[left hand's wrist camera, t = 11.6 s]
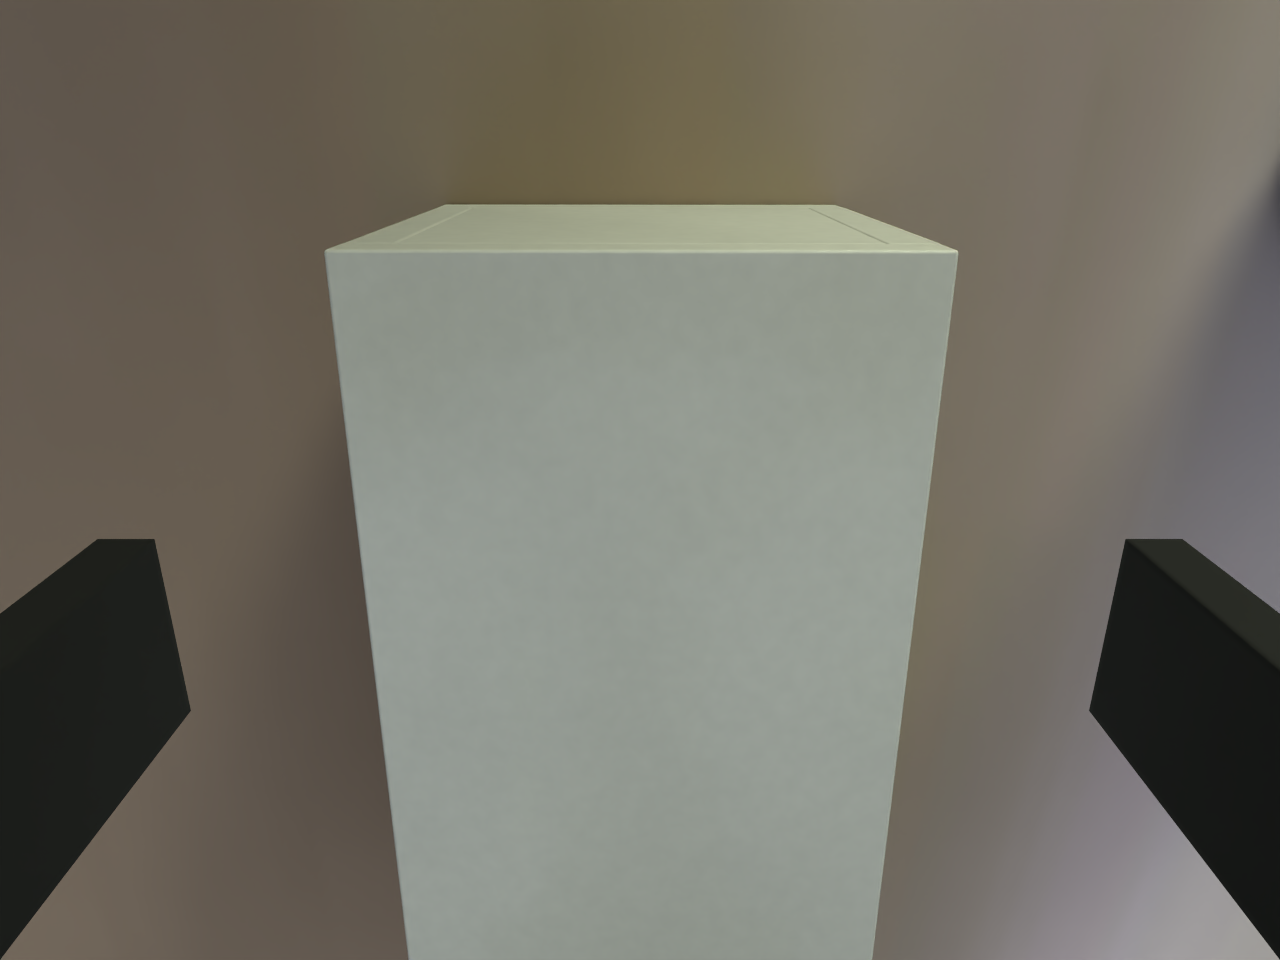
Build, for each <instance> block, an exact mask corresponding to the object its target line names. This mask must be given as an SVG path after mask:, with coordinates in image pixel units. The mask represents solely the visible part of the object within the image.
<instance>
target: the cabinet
mask: <svg viewBox="0 0 1280 960" xmlns="http://www.w3.org/2000/svg"><path fill="white" fill-rule="evenodd" d="M324 255H325V263H326V271H327V280H328V288H329V296H330V305H331V313H332V322H333V330H334V338H335V347H336V355H337V363H338V372H339V380H340V389H341V397H342V405H343V414H344V422H345V431H346V439H347V447H348V456H349V464H350V472H351V481H352V489H353V498H354V506H355V514H356V523H357V531H358V539H359V548H360V556H361V565H362V573H363V581H364V590H365V598H366V606H367V615H368V623H369V632H370V640H371V648H372V657H373V665H374V673H375V682H376V690H377V699H378V707H379V715H380V724H381V732H382V741H383V749H384V757H385V766H386V774H387V782H388V791H389V799H390V808H391V816H392V824H393V833H394V841H395V849H396V858H397V866H398V875H399V883H400V891H401V900H402V908H403V916H404V925H405V933H406V942H407V950H408V958H409V960H872V956H873V948H874V940H875V931H876V923H877V915H878V907H879V899H880V891H881V882H882V874H883V866H884V858H885V850H886V842H887V833H888V825H889V817H890V809H891V801H892V793H893V784H894V776H895V768H896V760H897V752H898V744H899V735H900V727H901V719H902V711H903V703H904V695H905V686H906V678H907V670H908V662H909V654H910V645H911V637H912V629H913V621H914V613H915V605H916V596H917V588H918V580H919V572H920V564H921V556H922V547H923V539H924V531H925V523H926V515H927V507H928V498H929V490H930V482H931V474H932V466H933V458H934V449H935V441H936V433H937V425H938V417H939V409H940V400H941V392H942V384H943V376H944V368H945V360H946V351H947V343H948V335H949V327H950V319H951V311H952V302H953V294H954V286H955V278H956V270H957V262H958V251H957V250H955V249H952V248H949V247H947V246H944V245H941V244H940V243H937V242H934V241H932V240H929V239H926V238H924V237H921V236H918V235H916V234H913V233H910V232H908V231H905V230H902V229H900V228H897V227H894V226H892V225H889V224H886V223H883V222H881V221H878V220H875V219H873V218H870V217H867V216H865V215H862V214H859V213H857V212H854V211H851V210H849V209H846V208H842V207H840V206H837V205H443V206H441V207H438V208H436V209H433V210H430V211H428V212H425V213H422V214H420V215H417V216H415V217H412V218H409V219H407V220H404V221H401V222H399V223H396V224H393V225H391V226H388V227H386V228H383V229H380V230H378V231H375V232H372V233H370V234H367V235H364V236H362V237H359V238H356V239H354V240H351V241H349V242H346V243H342V244H340V245H337V246H334V247H332V248H329V249H327V250H325V253H324Z"/></svg>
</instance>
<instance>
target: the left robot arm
mask: <svg viewBox="0 0 1280 960" xmlns="http://www.w3.org/2000/svg"><path fill="white" fill-rule="evenodd" d="M190 711H191V710H190V705H189V700H188V695H187V691H186V686H185V681H184V677H183V672H182V667H181V662H180V658H179V653H178V648H177V644H176V639H175V634H174V629H173V625H172V620H171V615H170V611H169V606H168V601H167V596H166V592H165V587H164V582H163V578H162V573H161V568H160V564H159V559H158V554H157V549H156V545H155V540H154V539H97V540H96V541H95V542H93V543H92V544H91V545H89V546H88V547H87V548H86V549H84V550H83V551H82V552H80V553H79V554H78V555H76V556H75V557H74V558H72V559H71V560H70V561H69V562H67V563H66V564H65V565H63V566H62V567H61V568H59V569H58V570H57V571H55V572H54V573H53V574H52V575H50V576H49V577H48V578H46V579H45V580H44V581H42V582H41V583H40V584H38V585H37V586H36V587H35V588H33V589H32V590H31V591H29V592H28V593H27V594H25V595H24V596H23V597H21V598H20V599H19V600H18V601H16V602H15V603H14V604H12V605H11V606H10V607H8V608H7V609H6V610H5V611H3V612H2V613H1V614H0V959H1V958H2V956H3V955H4V954H5V953H6V951H7V950H8V949H9V947H10V946H11V945H12V943H13V942H14V941H15V939H16V938H17V937H18V936H19V934H20V933H21V932H22V930H23V929H24V928H25V926H26V925H27V924H28V922H29V921H30V920H31V919H32V917H33V916H34V915H35V913H36V912H37V911H38V909H39V908H40V907H41V905H42V904H43V903H44V902H45V900H46V899H47V898H48V896H49V895H50V894H51V892H52V891H53V890H54V889H55V887H56V886H57V885H58V883H59V882H60V881H61V879H62V878H63V877H64V875H65V874H66V873H67V872H68V870H69V869H70V868H71V866H72V865H73V864H74V862H75V861H76V860H77V858H78V857H79V856H80V855H81V853H82V852H83V851H84V849H85V848H86V847H87V845H88V844H89V843H90V842H91V840H92V839H93V838H94V836H95V835H96V834H97V832H98V831H99V830H100V828H101V827H102V826H103V825H104V823H105V822H106V821H107V819H108V818H109V817H110V815H111V814H112V813H113V811H114V810H115V809H116V808H117V806H118V805H119V804H120V802H121V801H122V800H123V798H124V797H125V796H126V795H127V793H128V792H129V791H130V789H131V788H132V787H133V785H134V784H135V783H136V781H137V780H138V779H139V778H140V776H141V775H142V774H143V772H144V771H145V770H146V768H147V767H148V766H149V764H150V763H151V762H152V761H153V759H154V758H155V757H156V755H157V754H158V753H159V751H160V750H161V749H162V747H163V746H164V745H165V744H166V742H167V741H168V740H169V738H170V737H171V736H172V734H173V733H174V732H175V731H176V729H177V728H178V727H179V725H180V724H181V723H182V721H183V720H184V719H185V717H186V716H187V715H188V714H189V712H190ZM1089 711H1090V712H1091V714H1092V715H1093V716H1094V717H1095V719H1096V720H1097V721H1098V723H1099V724H1100V725H1101V727H1102V728H1103V729H1104V731H1105V732H1106V733H1107V734H1108V736H1109V737H1110V738H1111V740H1112V741H1113V742H1114V744H1115V745H1116V746H1117V747H1118V749H1119V750H1120V751H1121V753H1122V754H1123V755H1124V757H1125V758H1126V759H1127V761H1128V762H1129V763H1130V764H1131V766H1132V767H1133V768H1134V770H1135V771H1136V772H1137V774H1138V775H1139V776H1140V778H1141V779H1142V780H1143V781H1144V783H1145V784H1146V785H1147V787H1148V788H1149V789H1150V791H1151V792H1152V793H1153V795H1154V796H1155V797H1156V798H1157V800H1158V801H1159V802H1160V804H1161V805H1162V806H1163V808H1164V809H1165V810H1166V811H1167V813H1168V814H1169V815H1170V817H1171V818H1172V819H1173V821H1174V822H1175V823H1176V825H1177V826H1178V827H1179V828H1180V830H1181V831H1182V832H1183V834H1184V835H1185V836H1186V838H1187V839H1188V840H1189V842H1190V843H1191V844H1192V845H1193V847H1194V848H1195V849H1196V851H1197V852H1198V853H1199V855H1200V856H1201V857H1202V858H1203V860H1204V861H1205V862H1206V864H1207V865H1208V866H1209V868H1210V869H1211V870H1212V872H1213V873H1214V874H1215V875H1216V877H1217V878H1218V879H1219V881H1220V882H1221V883H1222V885H1223V886H1224V887H1225V889H1226V890H1227V891H1228V892H1229V894H1230V895H1231V896H1232V898H1233V899H1234V900H1235V902H1236V903H1237V904H1238V905H1239V907H1240V908H1241V909H1242V911H1243V912H1244V913H1245V915H1246V916H1247V917H1248V919H1249V920H1250V921H1251V922H1252V924H1253V925H1254V926H1255V928H1256V929H1257V930H1258V932H1259V933H1260V934H1261V936H1262V937H1263V938H1264V939H1265V941H1266V942H1267V943H1268V945H1269V946H1270V947H1271V949H1272V950H1273V951H1274V953H1275V954H1276V955H1277V956H1278V958H1279V959H1280V614H1279V613H1278V612H1277V611H1275V610H1274V609H1273V608H1272V607H1270V606H1269V605H1268V604H1266V603H1265V602H1264V601H1262V600H1261V599H1260V598H1259V597H1257V596H1256V595H1255V594H1253V593H1252V592H1251V591H1249V590H1248V589H1247V588H1245V587H1244V586H1243V585H1242V584H1240V583H1239V582H1238V581H1236V580H1235V579H1234V578H1232V577H1231V576H1230V575H1228V574H1227V573H1226V572H1225V571H1223V570H1222V569H1221V568H1219V567H1218V566H1217V565H1215V564H1214V563H1213V562H1211V561H1210V560H1209V559H1208V558H1206V557H1205V556H1204V555H1202V554H1201V553H1200V552H1198V551H1197V550H1196V549H1194V548H1193V547H1192V546H1191V545H1189V544H1188V543H1187V542H1185V541H1184V540H1183V539H1126V540H1125V545H1124V549H1123V554H1122V559H1121V564H1120V568H1119V573H1118V578H1117V582H1116V587H1115V592H1114V596H1113V601H1112V606H1111V611H1110V615H1109V620H1108V625H1107V629H1106V634H1105V639H1104V644H1103V648H1102V653H1101V658H1100V662H1099V667H1098V672H1097V677H1096V681H1095V686H1094V691H1093V695H1092V700H1091V705H1090V710H1089Z"/></svg>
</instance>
